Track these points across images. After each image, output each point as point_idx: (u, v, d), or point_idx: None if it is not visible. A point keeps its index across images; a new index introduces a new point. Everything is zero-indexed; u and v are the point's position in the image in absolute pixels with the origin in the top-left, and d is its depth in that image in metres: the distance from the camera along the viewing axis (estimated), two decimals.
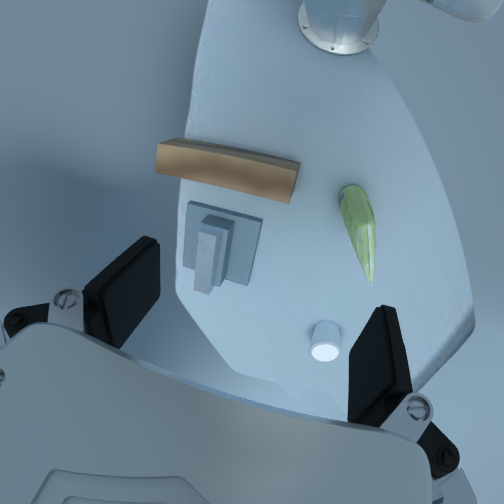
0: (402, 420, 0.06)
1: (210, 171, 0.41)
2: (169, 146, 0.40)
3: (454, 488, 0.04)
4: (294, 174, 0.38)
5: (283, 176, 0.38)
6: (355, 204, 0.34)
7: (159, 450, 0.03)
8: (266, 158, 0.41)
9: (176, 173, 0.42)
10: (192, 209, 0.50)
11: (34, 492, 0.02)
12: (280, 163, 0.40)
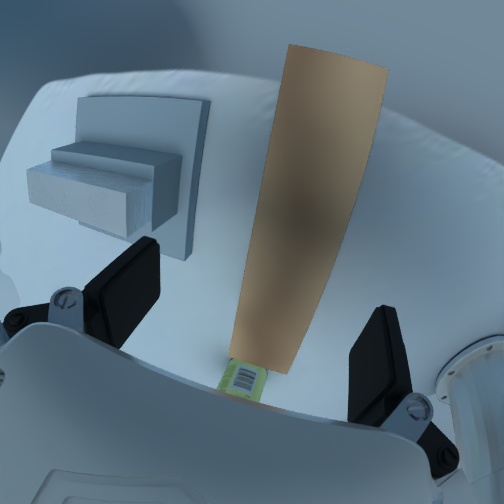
0: (402, 420, 0.06)
1: (291, 224, 0.15)
2: (376, 107, 0.11)
3: (455, 488, 0.04)
4: (281, 371, 0.21)
5: (277, 358, 0.20)
6: None
7: (159, 450, 0.03)
8: None
9: (286, 116, 0.13)
10: (188, 114, 0.19)
11: (34, 492, 0.02)
12: None
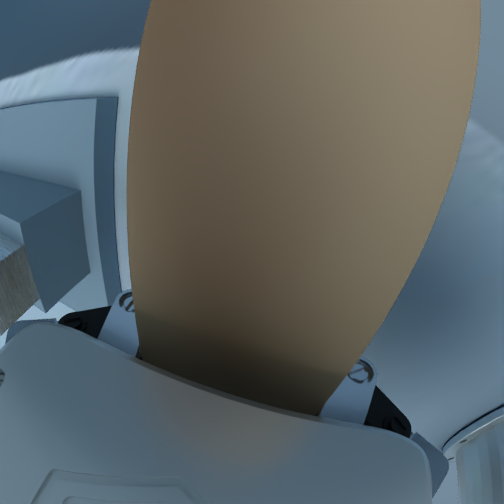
0: (346, 387, 0.07)
1: (212, 369, 0.06)
2: (464, 68, 0.02)
3: None
4: None
5: None
6: None
7: (159, 450, 0.03)
8: None
9: (161, 103, 0.04)
10: (81, 124, 0.10)
11: (34, 492, 0.02)
12: None
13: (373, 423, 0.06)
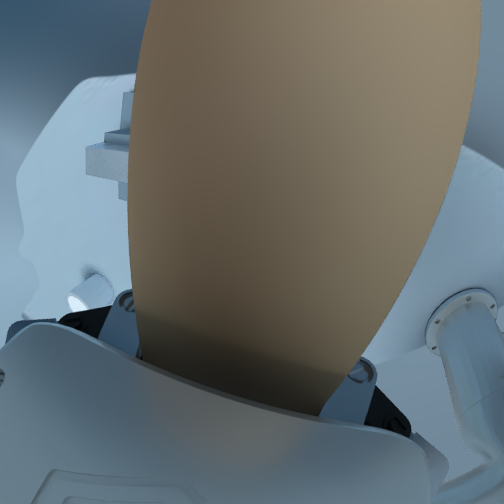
0: (346, 387, 0.07)
1: (213, 369, 0.06)
2: (464, 68, 0.02)
3: None
4: None
5: None
6: None
7: (159, 450, 0.03)
8: None
9: (162, 102, 0.04)
10: None
11: (34, 492, 0.02)
12: None
13: (373, 423, 0.06)
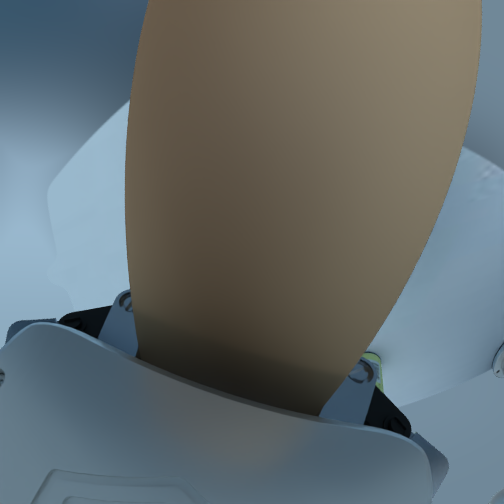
0: (347, 387, 0.07)
1: (212, 370, 0.06)
2: (465, 66, 0.02)
3: None
4: None
5: None
6: None
7: (159, 450, 0.03)
8: None
9: (159, 101, 0.04)
10: None
11: (34, 492, 0.02)
12: None
13: (373, 423, 0.06)
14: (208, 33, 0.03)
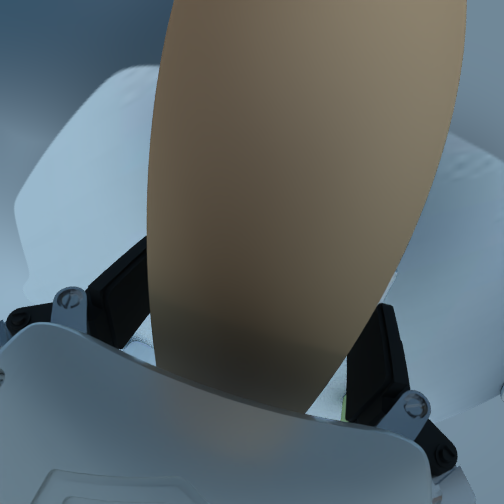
0: (399, 418, 0.06)
1: (222, 351, 0.07)
2: (448, 73, 0.03)
3: (453, 485, 0.04)
4: None
5: None
6: None
7: (159, 450, 0.03)
8: None
9: (182, 103, 0.04)
10: None
11: (34, 492, 0.02)
12: None
13: (426, 454, 0.05)
14: (226, 44, 0.04)
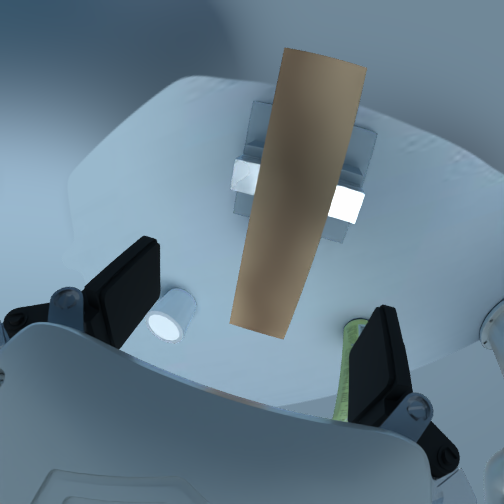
0: (402, 420, 0.06)
1: (286, 196, 0.18)
2: (356, 99, 0.14)
3: (454, 488, 0.04)
4: (278, 336, 0.24)
5: (274, 323, 0.23)
6: None
7: (159, 450, 0.03)
8: None
9: (281, 107, 0.15)
10: (367, 140, 0.27)
11: (34, 492, 0.02)
12: None
13: (429, 456, 0.05)
14: (295, 92, 0.14)
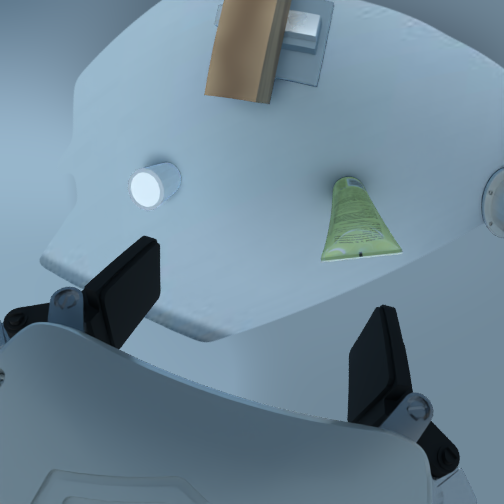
0: (402, 420, 0.06)
1: None
2: None
3: (454, 488, 0.04)
4: (250, 99, 0.22)
5: (245, 83, 0.22)
6: None
7: (159, 450, 0.03)
8: (272, 58, 0.23)
9: None
10: (326, 6, 0.25)
11: (34, 492, 0.02)
12: (266, 77, 0.23)
13: (429, 456, 0.05)
14: None
